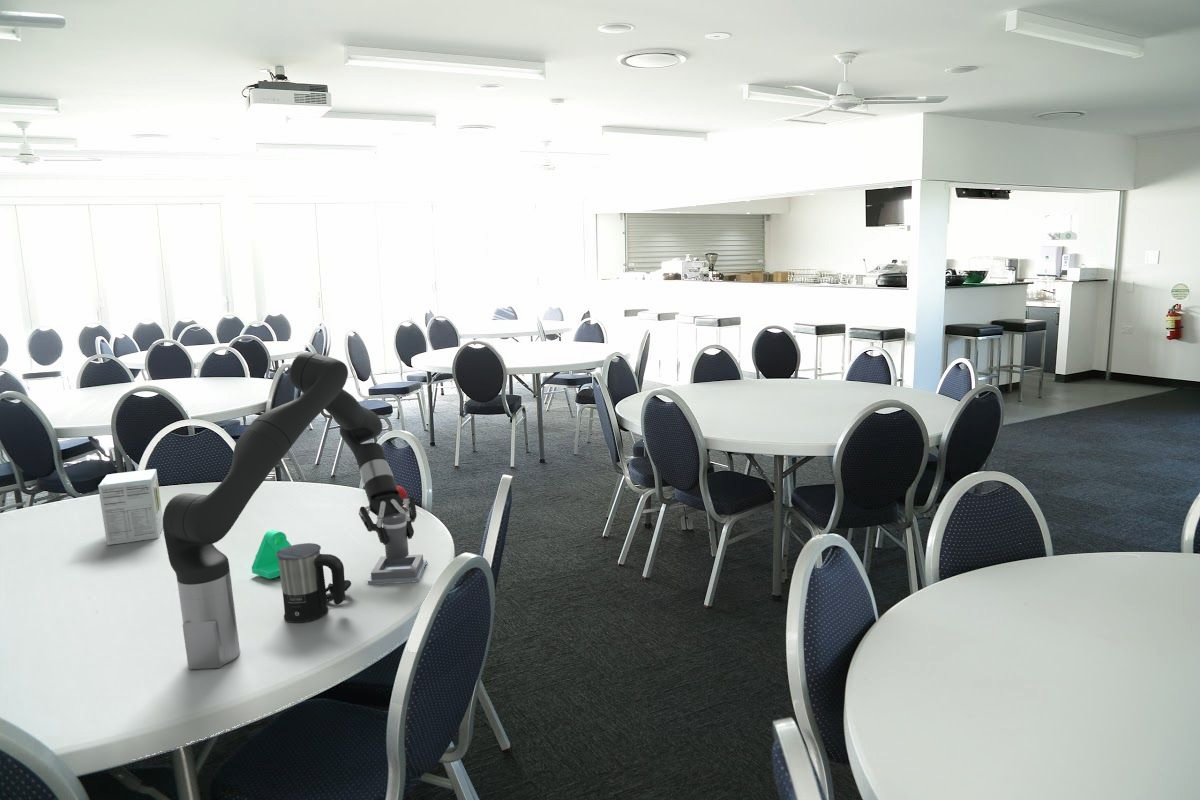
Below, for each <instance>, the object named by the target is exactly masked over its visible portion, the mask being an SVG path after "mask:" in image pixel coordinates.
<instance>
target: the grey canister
mask: <svg viewBox="0 0 1200 800" xmlns="http://www.w3.org/2000/svg"><path fill="white" fill-rule="evenodd" d="M406 525H407V522H406V515H405V514H404V513H392V514H387V515H384V517H383V523H382V528H384V530H385V533H386V536H387V539H388V542H387V544H386V545H384V546H385V547H384V548H385V549H384V550H385V556H386V558H388V559H393V560H394V559H402V558H405V557H407V556H408V555H410V554H409V553H410V551H409V541H408V540H409V539H408V537H407V528H406Z"/></svg>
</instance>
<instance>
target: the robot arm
mask: <svg viewBox="0 0 1200 800" xmlns="http://www.w3.org/2000/svg"><path fill="white" fill-rule="evenodd" d="M347 366H348V365H346V363H344V362H343V361H341V360H339V359H336V358H333V357H331V356H328V355H323V354H319V353H317V352H311V351H305V352H301V353H300V354H298V355H297V356H296V357H295V358H294V359H293V361H292V363H291V365H290V369H289V380H290V382H291V384H292V385H293V387H294V388H295V389H297V390H298V391H299V392H301V393H303V394H301V395H299V397H296V398H295V399H293V400H291V401H289V402H285V403H283V404H280V405H279V406H276V407H274V408H272V409H269V410H267V411H265V412H263V413H261V414H260V415H258V416H257V417H256V418H255V419H254V420H253V421H252V422H251V423H250V424H249V425H248V426H247V428H246V429H245V430H244V431H243V432H242V434H241V435H240V436H239V438H238V439H237V441H236V442H235V445H234V449H233V453H232V462H231V467H230V470H229V472H228V473H227V475H226V476H225V478H224V479H223V480H222V481H221V482H220V484H218V485H217V487H216V488H214V490H212V491H211V492H210V493H209V494H200V493H192V492H191V493H190V492H189V493H188V492H186V493H180V494H177V495H175V496H174V497H172V498H171V499H169V501H168V503H167V504H166V506H165V508H164V512H163V513H162V514H163V528H162V531H163V536H164V541H165V545H166V550H167V551H166V552H167V555H168V556H167V557H168V561H169V563H170V566H171V568H172V570H173V571H174V573H175V576H176V581H177V588H178V589H177V590H178V597H179V604H180V610H181V617H182V632H183V639H184V644H185V653H186V654H185V655H186V661H187V667H188V670H205V669H220V668H222V667H223V666H224V665H226V664H228V663H230V662H232V661H234V660H235V659H237V658H238V656H239V655H240V653H241V648H240V641H239V632H238V625H237V618H236V617H237V616H236V608H235V601H234V595H233V594H234V593H233V587H232V586H233V585H232V578H231V568H230V563H229V558H228V556H227V555H226V554H224V553H223V552H221V551H220V550H219V549H218V548H217V547H216V546H215V545H214V544H217V543H218V542H220V540H222V539H224V538H225V536H226V535H227V534H228V533H229V532H230V531H231V529H232V528H233V526H234V525H235V524H236V522H237V520H238V518H239V517H240V516H241V514H242V512H243V510H244V509H245V508H246V506H247V504H248V503H249V501H250V500H251V498H252V497H253V495H254V494H255V492H257V490H258V489H259V487H260V486H261V485H262V484H263V482H264V481H265V480H266V478H267V477H268V476H269V474H270V473H271V472H272V471H273V469H274V468H275V467H276V466H277V465H278V464H279V463H280V462H281V460H282V459H283V458H284V457H285V456H286V454H287V453H288V452H289V451H290V449H291V448H292V447H293V446H294V444H295V443H296V441H297V440H298V439H299V438H300V436H301V435H302V434H303V433H304V431H305V430H306V429H307V428H308V426H309V425H310V424H311V423H312V422H313V421H314V420H315V419H316V418H317V417H318V416H319V415H320V413H322V412H323V411H324V410H325V411H326V412H327V413H328V414H329V415H330V416H331V417H332V419H334V421H335V422H336V423H337V424H338V425H339V434H340V436H341V438H342V439H343V441H344V442H345V443H346V445H347V447H349V450H351V452H352V454H353V456H354V458H355V460H356V463H357V466H358V469H359V472H360V478H361V483H362V485H363V488H364V491H365V495H366V497H367V501H368V504H369V505H367V506H360V508H359V511H358V515H359V517H360V519H361V521H362V523H363V524H364V526H365V529H366V530H367V532H376V533H377V537H378V540H379V542H380V544H382V545H384V546H385V545H386V544H387V542H388V539H387V536H386V533H385V530H384V528H383V517H384V515H387V514H392V513H404V514H405V515H406V522H407V525H406V528H407V540H411V539H412V538H413V536H414V533H415V530H414V527H413V524H412V523H414V522H415V521H416V518H417V517H418V516H417V507H416V501H415V497H414V496H410V497H409V498H407V499H403V498H402V497H401V496H400V495H399V492H398V489H397V486H396V485H397V484H396V483H397V482H396V481H395V477H394V474H393V472H392V469H391V467H390V465H389V463H388V461H387V456H386V454H385V451H384V448H383V447H382V445H381V444H379V443H378V442H368V441H370V440H372V439H375V438H378V436H380V435H381V433H382V432H383V423H382V420H381V418H380V417H379V416H378V414H377V413H375V412H374V411H373V410H371V409H370V408H366V407H364V406H362V405H361V404H360V402H359V401H358V400H357V399H356V398H355V397H354V396H353V395H352V394H351V393H349V392H348V391H346V390H345V389H344V387H345V385H346V383H347V380H348V377H349V376H348V375H349V369H348V367H347ZM366 442H367V443H366ZM402 504H405V505H404V506H405V507H406V508H407V509H408V513H406V511H405V509H403V507H402ZM370 512H371V513H373V514H374V515H375V516H377V517H376V521H375V522H376V523H374V522H373V520H372V517H371V516H370Z"/></svg>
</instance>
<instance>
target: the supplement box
mask: <svg viewBox="0 0 1200 800" xmlns="http://www.w3.org/2000/svg"><path fill="white" fill-rule="evenodd" d="M157 470H158V469H157V468H152V469H144V470H141V469H140V470H134V471H125V472H117V473H111V474H106V475H105V477H104V478H103V479H102V480H101V482H100V483H99V484H98V485H97V487H98V488H97V489H98V493H99V495H98V496H99V502H100V509H101V513H102V521H103V526H104V533H105V541H106V545H107V546H110V545H117V544H126V543H131V542H139V541H147V540H155V539H158V538H160V535H161V533H162V531H163V514H164V513H163V507H162V501H161V493H160V486H159V481H158V473H157Z"/></svg>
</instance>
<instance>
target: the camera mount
mask: <svg viewBox="0 0 1200 800" xmlns="http://www.w3.org/2000/svg"><path fill="white" fill-rule="evenodd" d="M289 546H292V544H291V543H290V542H289V540H288V539H287V535H286V534H285V533H284V532H282V531H279V530H275V529H269V530H267V531H266V532H265V533H264V535H263V538H262V541H261V542H260V545H259V547H258V550H257V552H256V555H255V557H254V560H253V562H252V565H251V573H252V574H255V575H258V576H259V577H262V578H263V577H264V578H267V579H275V578H277V577H280V570H279V562H278V558H277V557H276V553H277V552H278V551H279V550H281V549H283V548H286V547H289Z"/></svg>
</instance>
